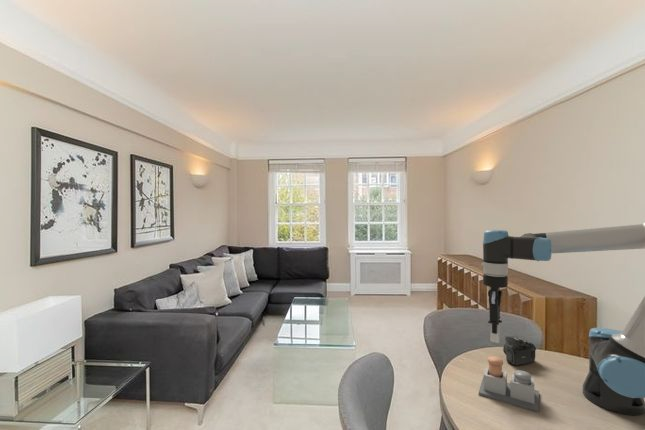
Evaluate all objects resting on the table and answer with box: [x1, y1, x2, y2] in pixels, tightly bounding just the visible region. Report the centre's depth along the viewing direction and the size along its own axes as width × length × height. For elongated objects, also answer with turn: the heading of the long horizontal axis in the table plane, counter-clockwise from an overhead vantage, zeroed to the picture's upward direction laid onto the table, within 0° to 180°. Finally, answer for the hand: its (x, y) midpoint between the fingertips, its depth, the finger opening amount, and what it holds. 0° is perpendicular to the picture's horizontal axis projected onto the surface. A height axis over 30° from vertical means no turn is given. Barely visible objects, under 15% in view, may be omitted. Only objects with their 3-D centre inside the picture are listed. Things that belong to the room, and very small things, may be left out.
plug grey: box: [513, 369, 532, 385], centre depth 105 cm, size 5×5×6 cm
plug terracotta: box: [487, 356, 504, 378], centre depth 109 cm, size 5×5×6 cm
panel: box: [478, 366, 540, 413], centre depth 107 cm, size 17×12×6 cm
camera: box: [502, 335, 537, 366], centre depth 130 cm, size 13×10×10 cm
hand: (494, 341), depth 109 cm, fingers closed
